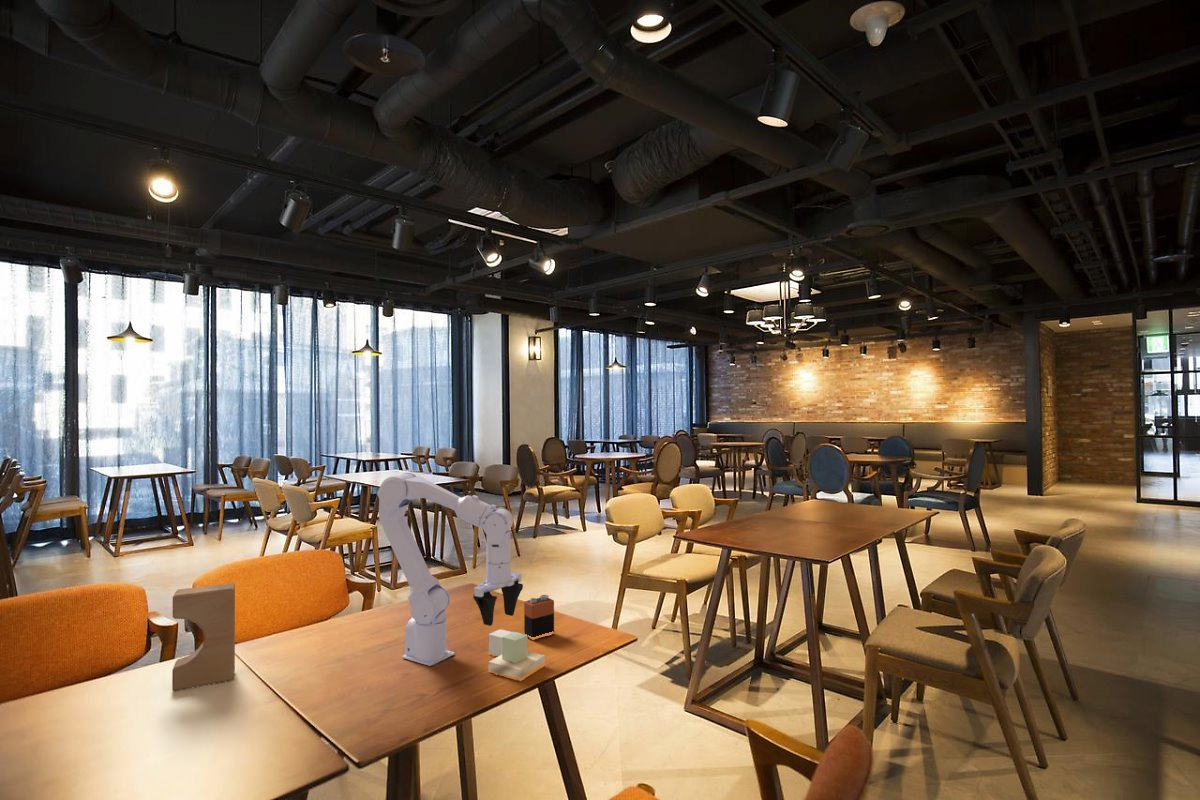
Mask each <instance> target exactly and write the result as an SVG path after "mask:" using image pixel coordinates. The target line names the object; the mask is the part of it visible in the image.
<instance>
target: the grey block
mask: <svg viewBox="0 0 1200 800" xmlns="http://www.w3.org/2000/svg"><path fill="white" fill-rule="evenodd" d="M513 632H514V631H509V630H506V629H501V628H499V629H498V630H495V631H492V632H491V633H488V655H489V654H492V655H496V656H500V655H502V637H503V636H506V635H508V634H510V633H513Z"/></svg>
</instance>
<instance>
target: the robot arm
mask: <svg viewBox="0 0 1200 800" xmlns="http://www.w3.org/2000/svg"><path fill="white" fill-rule="evenodd" d="M376 495H377V497H378V519H379V522H380V525H381V526H382V528H383V531H384V533H385V535H386V538H387V540H388V542H389V544H390V547H391V549H392V551H393V552H394V554H395V555H394V556H395V557H396V559H397V561H398V564H399V566H400V568H401V570H402V573H403V575H404V577H405V579H406V581H407V585H408V586H409V587H408V594H407V595H408V596H407V599H408V601H409V604H410V615H411V618H410V619H409V620H408V622H407V623H406V626H405V630H404V631H405V632H404V642H405V643H404V644H405V645H404V646H405V648H404V652H405V653H404V654H403V655H401V656H402V658H403V659H406V660H408V661H412V662H415V663H419V664H422V665H425V666H430V667H431V666H434V665H436V664H438V663H440V662H441V661H442V662H443V661H444V660H446V659H448V658H450V657H451V656H454V655H455V651H451V650H449V649H447V614H446V609H447V608H448V606H450V601H451V596H450V593H449V591H448V590H447V589H446V588H445V587H444V586H443V585H442V584H441V583H440V580H439V579H438V578H436V577H435V576H433V575H432V573H431V571H430V570H429V568H428V565H427V563H426V561H425V559H424V556H423V555H422V553H421V550H420V547H419V545H418V543H417V540H416V538H415V536H414V534H413V532H412V530H411V529H410V526H409V524H408V521H407V519H406V518H405V515H406V513H407V509H408V508H409V505H410V503H411V502H412V501H413V500H418V499H426V500H428V501H430V502H433V503H435V504H438V505H440V506H443V507H445V508H448V509H451V510H453V511H454V513H455V515H456V517H457V518H458V519H460V520H462V521H464V522H466V523H469V524H471V525H473V526H475V527H477V528H480V529H482V530H483V531H484V532H483V533H485V535H486V544H485V546H486V547H485V548H486V551H485V554H486V557H485V558H486V560H485V561H486V562H485V565H486V568H485V569H486V570H485V571H486V575H485V576H486V577H485V578H486V579H485V580H484V581H483V582H481V583H480V584H478V585H477V586H474V588H473V590H474V591H473V595H472V597H473V600H474V601H475V603H476V604H477V606H478V609H479V612H480V615H481V619H482V623H483V625H484V626H488V627H491V626H492V625H493V623H494V610H495V606H496V601H497V599H498V596H497V595H495V596H494V595H492V592H494V591H497V590H499V589H501V593H502V597H503V598H502V599H503V609H504V614H505V615H506V616H511V617H513V616H514V615H515V611H516V610H515V609H516V606H517V603H518V599H519V596H520V595H521V592H522V591H523V588H524V584H523V583H520V582H522V573H519V572H512V540H511V530H510V529H511V528H512V527H513V524H514V517H513V514H512V513H511V511H510V510H508V509H507V508H506V507H497V505H496V504H489V503H486V502H485V501H482V500H480V499H479V496H477V495H476V494H473V495H465V496H462V497H461V496H458V495H457V494H456V493H453V492H451V491H449V490H448V489H445V488H443V487H442V486H439V485H437V484H436V483H434V482H432V481H430V480H429V479H427V478H425V477H424V476H420V475H416V474H414V473H412V472H405V473H402V474H399V475H395V476H389V477H387V478H385V479H384V480H382V482H381V484H380V486H379V488H378V490H377V491H376Z"/></svg>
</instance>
